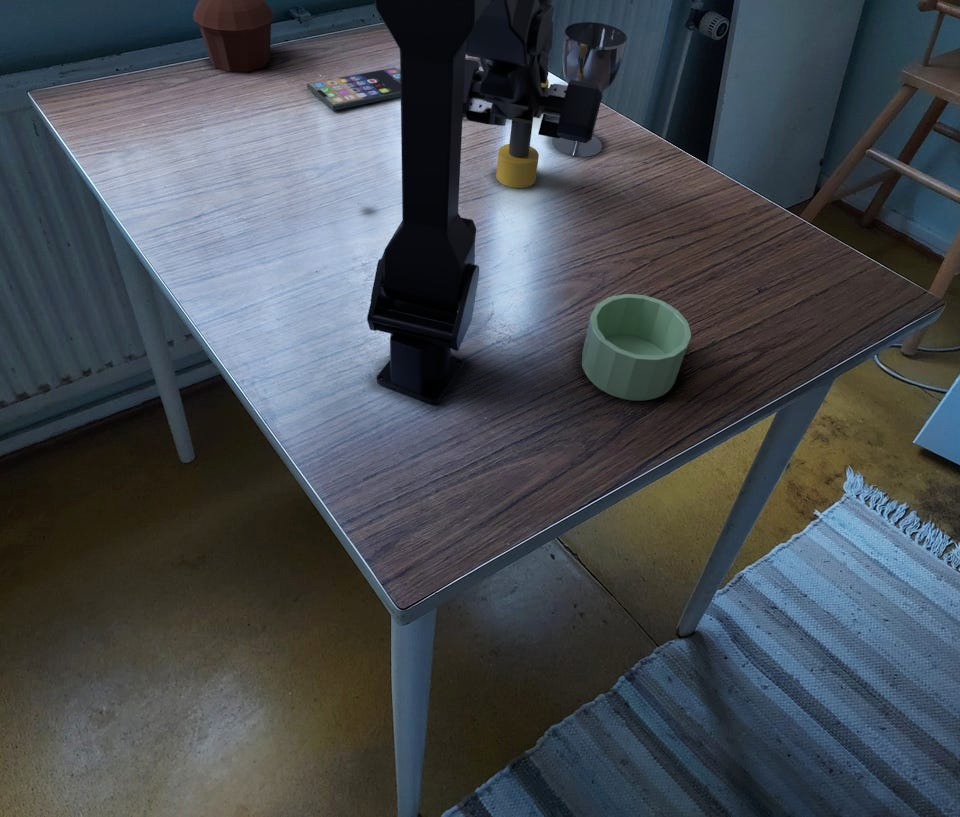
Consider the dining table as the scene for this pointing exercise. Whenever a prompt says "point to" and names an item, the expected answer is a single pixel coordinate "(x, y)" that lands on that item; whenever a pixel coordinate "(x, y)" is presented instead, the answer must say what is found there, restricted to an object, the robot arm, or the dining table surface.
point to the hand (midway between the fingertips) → (524, 125)
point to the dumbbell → (518, 156)
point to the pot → (635, 346)
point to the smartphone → (358, 88)
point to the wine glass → (590, 69)
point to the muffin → (235, 32)
